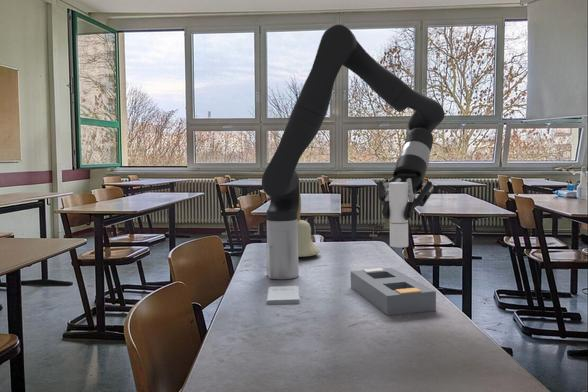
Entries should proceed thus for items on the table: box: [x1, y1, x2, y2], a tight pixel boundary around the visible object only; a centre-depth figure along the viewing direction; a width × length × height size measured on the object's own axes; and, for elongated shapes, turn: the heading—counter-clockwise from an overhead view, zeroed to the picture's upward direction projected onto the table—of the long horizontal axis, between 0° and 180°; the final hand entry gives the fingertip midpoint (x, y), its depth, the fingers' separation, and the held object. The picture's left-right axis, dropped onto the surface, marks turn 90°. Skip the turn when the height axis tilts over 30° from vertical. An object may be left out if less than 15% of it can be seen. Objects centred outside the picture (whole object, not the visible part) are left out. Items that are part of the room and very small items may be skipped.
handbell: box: [297, 187, 321, 258], centre depth 172 cm, size 15×15×25 cm
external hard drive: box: [266, 285, 301, 305], centre depth 125 cm, size 2×8×12 cm
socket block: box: [350, 267, 437, 317], centre depth 121 cm, size 24×12×5 cm, turn 13°
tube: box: [388, 182, 409, 249], centre depth 114 cm, size 4×4×15 cm
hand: (395, 217), depth 112 cm, fingers closed on tube, 4 cm apart
